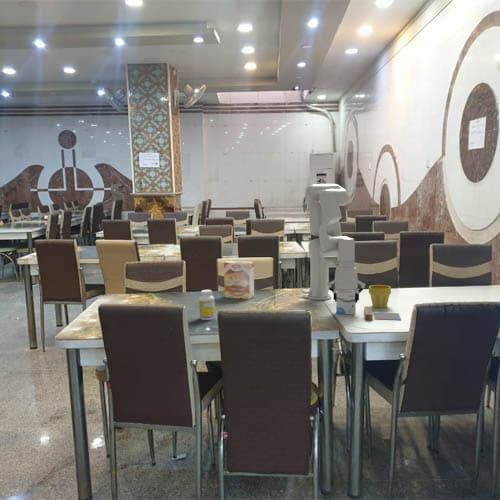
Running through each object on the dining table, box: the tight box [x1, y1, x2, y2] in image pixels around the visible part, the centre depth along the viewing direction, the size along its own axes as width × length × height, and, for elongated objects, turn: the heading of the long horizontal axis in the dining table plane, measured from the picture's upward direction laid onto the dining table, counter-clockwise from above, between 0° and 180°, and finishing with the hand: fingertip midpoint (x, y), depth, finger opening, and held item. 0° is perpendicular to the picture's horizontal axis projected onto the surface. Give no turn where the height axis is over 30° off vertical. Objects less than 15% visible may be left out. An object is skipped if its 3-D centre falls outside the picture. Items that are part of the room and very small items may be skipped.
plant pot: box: [368, 284, 392, 309], centre depth 221 cm, size 10×10×10 cm
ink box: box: [335, 290, 357, 316], centre depth 210 cm, size 9×5×15 cm, turn 71°
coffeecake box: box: [223, 260, 255, 300], centre depth 247 cm, size 15×7×20 cm, turn 68°
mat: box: [373, 312, 402, 321], centre depth 203 cm, size 11×11×1 cm
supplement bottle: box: [198, 289, 216, 321], centre depth 204 cm, size 7×7×13 cm
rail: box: [363, 306, 374, 321], centre depth 204 cm, size 3×15×2 cm, turn 168°
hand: (346, 301), depth 209 cm, fingers closed on ink box, 9 cm apart
